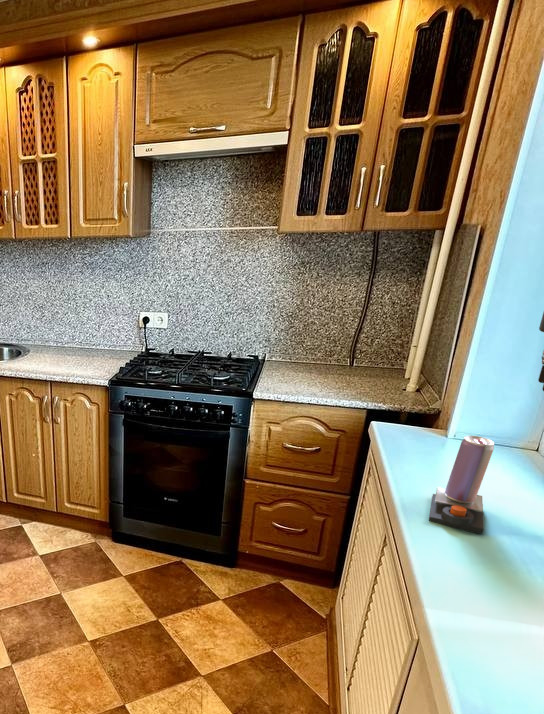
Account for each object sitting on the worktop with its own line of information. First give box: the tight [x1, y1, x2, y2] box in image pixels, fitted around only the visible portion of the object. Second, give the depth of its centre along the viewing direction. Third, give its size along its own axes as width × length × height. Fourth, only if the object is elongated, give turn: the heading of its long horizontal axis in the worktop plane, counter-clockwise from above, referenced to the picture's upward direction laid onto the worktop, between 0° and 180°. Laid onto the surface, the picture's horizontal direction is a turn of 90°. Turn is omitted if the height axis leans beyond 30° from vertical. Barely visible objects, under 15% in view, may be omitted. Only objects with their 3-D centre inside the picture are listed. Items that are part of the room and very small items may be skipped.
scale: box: [428, 493, 485, 535], centre depth 123 cm, size 15×10×3 cm
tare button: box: [450, 505, 467, 517], centre depth 119 cm, size 3×3×2 cm
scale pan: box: [435, 486, 484, 513], centre depth 125 cm, size 9×9×1 cm
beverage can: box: [445, 435, 495, 503], centre depth 122 cm, size 6×6×15 cm
